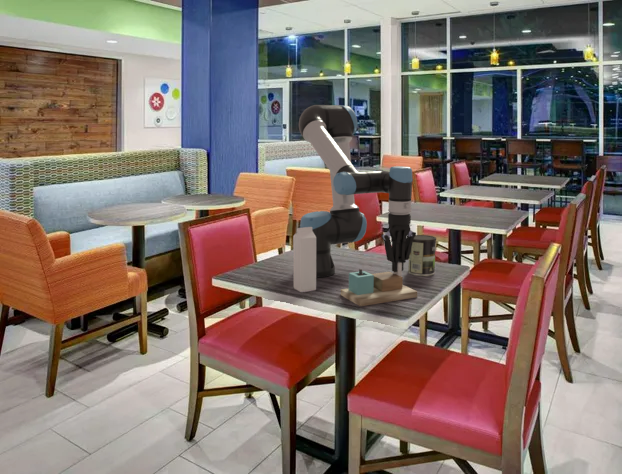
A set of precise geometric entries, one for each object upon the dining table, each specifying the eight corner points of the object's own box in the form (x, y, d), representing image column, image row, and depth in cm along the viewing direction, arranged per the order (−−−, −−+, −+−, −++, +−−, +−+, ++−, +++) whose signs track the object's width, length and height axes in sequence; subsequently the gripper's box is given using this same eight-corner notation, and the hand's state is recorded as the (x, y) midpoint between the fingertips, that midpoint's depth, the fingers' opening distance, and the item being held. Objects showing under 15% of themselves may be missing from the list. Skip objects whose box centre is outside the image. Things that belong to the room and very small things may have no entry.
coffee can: (434, 270, 216) (436, 235, 213) (434, 277, 206) (436, 240, 203) (408, 268, 218) (409, 234, 215) (407, 275, 208) (408, 239, 205)
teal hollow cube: (348, 290, 183) (348, 272, 182) (363, 287, 185) (364, 270, 184) (357, 295, 178) (358, 277, 176) (373, 292, 180) (373, 275, 179)
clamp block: (369, 285, 188) (369, 274, 187) (389, 282, 191) (389, 271, 191) (382, 291, 181) (382, 280, 180) (402, 288, 184) (402, 277, 184)
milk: (293, 288, 192) (292, 226, 188) (308, 285, 195) (308, 225, 191) (301, 292, 187) (300, 229, 183) (316, 290, 190) (316, 227, 185)
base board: (340, 295, 184) (340, 267, 182) (395, 286, 194) (395, 260, 192) (360, 306, 173) (360, 277, 171) (417, 297, 182) (418, 269, 180)
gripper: (389, 216, 177) (387, 285, 182) (422, 213, 183) (419, 280, 188) (377, 212, 184) (375, 280, 188) (408, 210, 189) (406, 275, 194)
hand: (397, 280), depth 188 cm, fingers closed
